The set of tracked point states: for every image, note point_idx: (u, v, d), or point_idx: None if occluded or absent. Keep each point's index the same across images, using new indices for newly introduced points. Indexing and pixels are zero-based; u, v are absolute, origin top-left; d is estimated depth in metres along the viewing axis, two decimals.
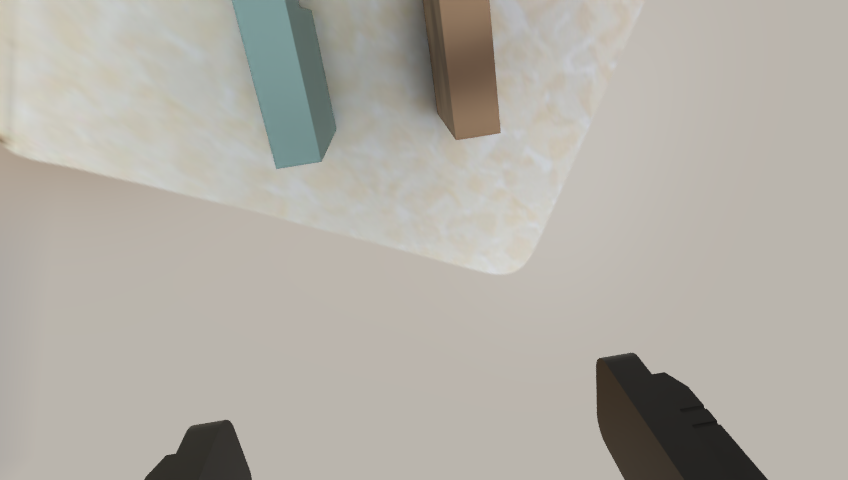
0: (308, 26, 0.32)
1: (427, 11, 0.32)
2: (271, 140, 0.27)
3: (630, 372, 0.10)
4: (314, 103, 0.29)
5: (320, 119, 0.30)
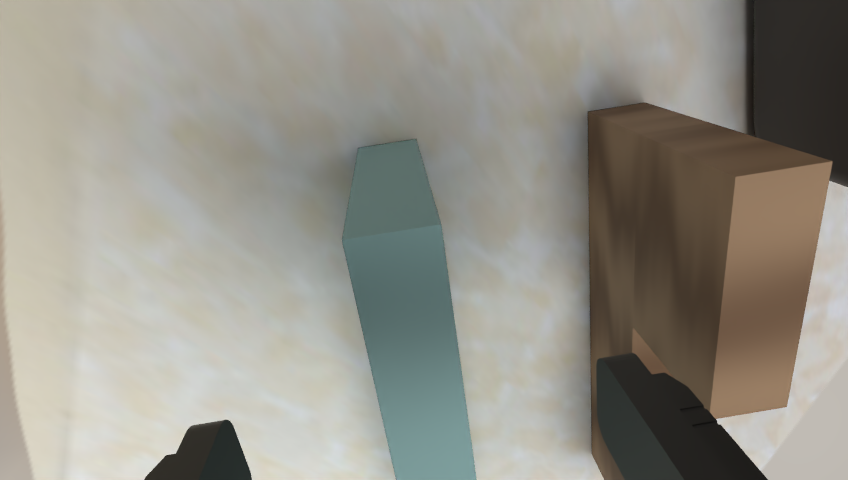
0: None
1: None
2: None
3: (630, 372, 0.10)
4: None
5: None
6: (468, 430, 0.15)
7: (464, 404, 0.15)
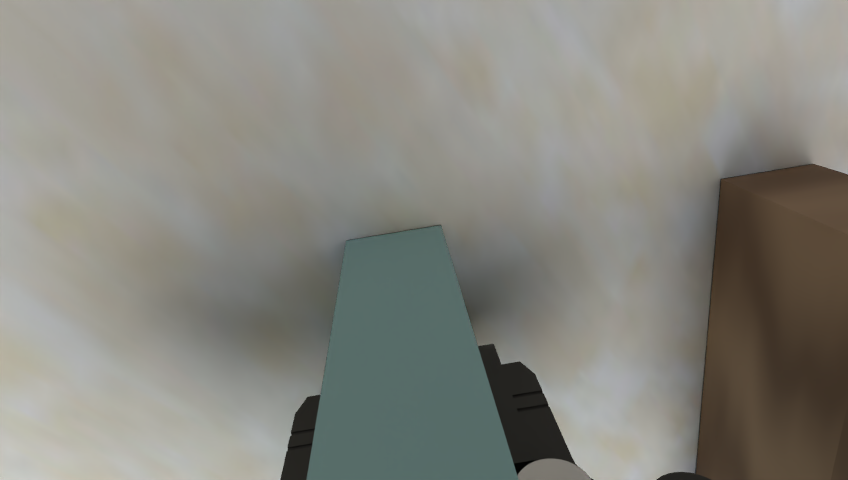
0: None
1: None
2: None
3: (483, 361, 0.11)
4: None
5: None
6: None
7: None
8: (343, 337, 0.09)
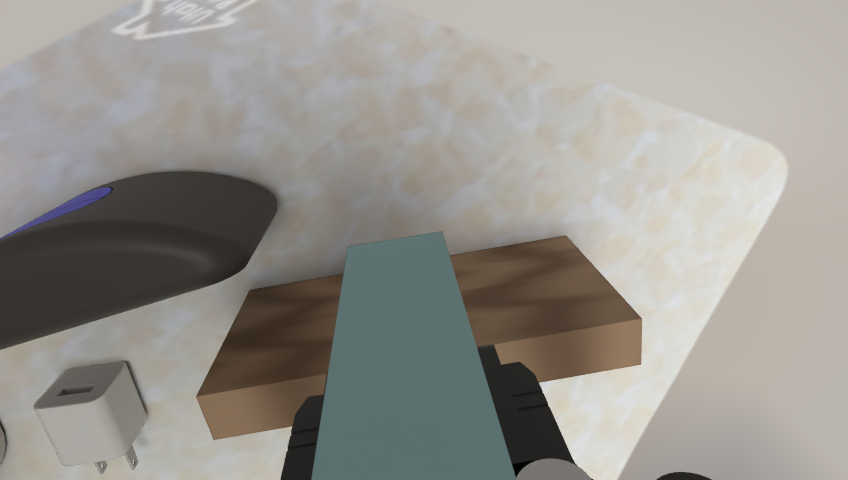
0: None
1: None
2: None
3: (483, 361, 0.11)
4: None
5: None
6: None
7: None
8: (345, 345, 0.09)
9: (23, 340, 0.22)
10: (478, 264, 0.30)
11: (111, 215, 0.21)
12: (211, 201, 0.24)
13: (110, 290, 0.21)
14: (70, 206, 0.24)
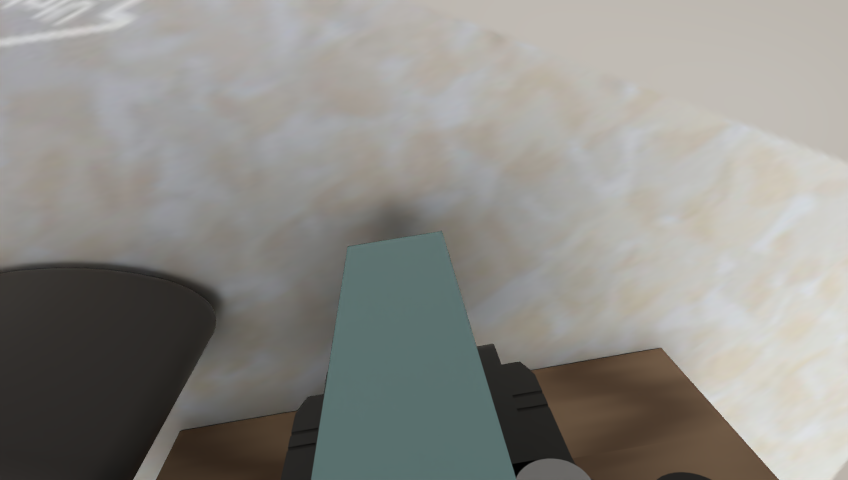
0: None
1: None
2: None
3: (482, 361, 0.11)
4: None
5: None
6: None
7: None
8: (345, 345, 0.09)
9: None
10: None
11: None
12: (77, 347, 0.13)
13: None
14: None
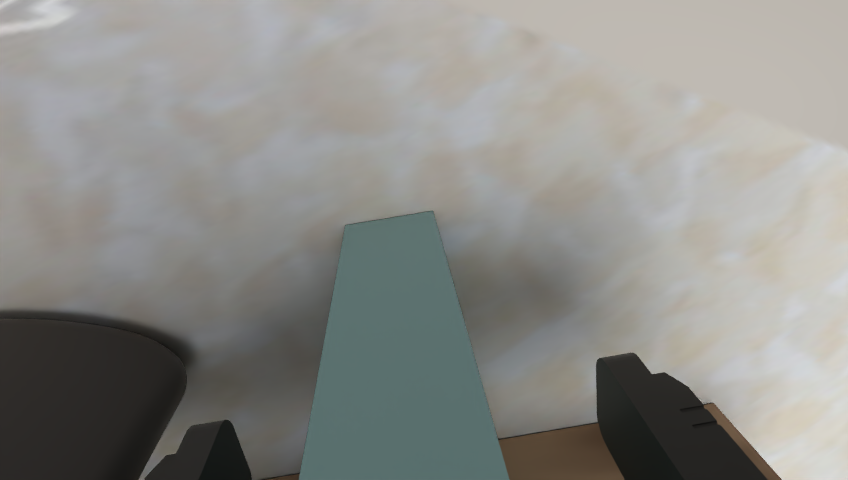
0: None
1: None
2: None
3: (630, 372, 0.10)
4: None
5: None
6: None
7: None
8: (342, 305, 0.10)
9: None
10: (565, 474, 0.16)
11: None
12: None
13: None
14: None
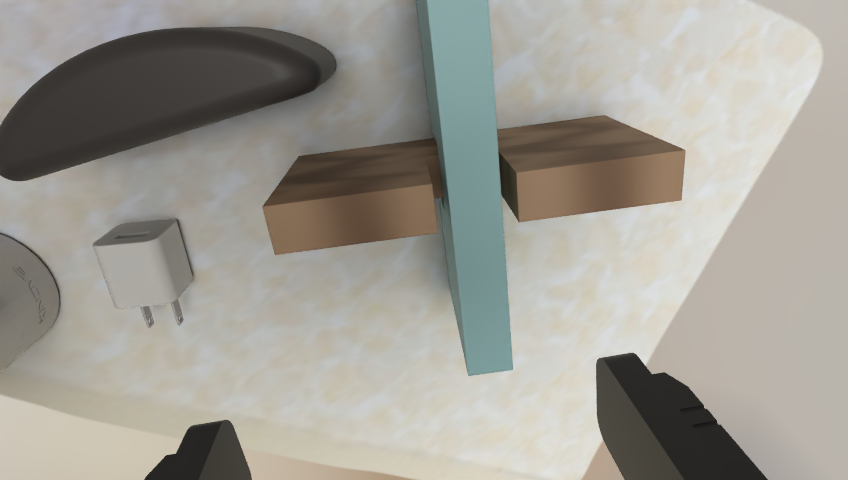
0: None
1: None
2: (468, 352, 0.28)
3: (630, 372, 0.10)
4: None
5: None
6: (496, 133, 0.23)
7: (494, 110, 0.23)
8: None
9: (113, 148, 0.23)
10: (520, 133, 0.31)
11: None
12: (282, 36, 0.26)
13: (197, 94, 0.22)
14: None
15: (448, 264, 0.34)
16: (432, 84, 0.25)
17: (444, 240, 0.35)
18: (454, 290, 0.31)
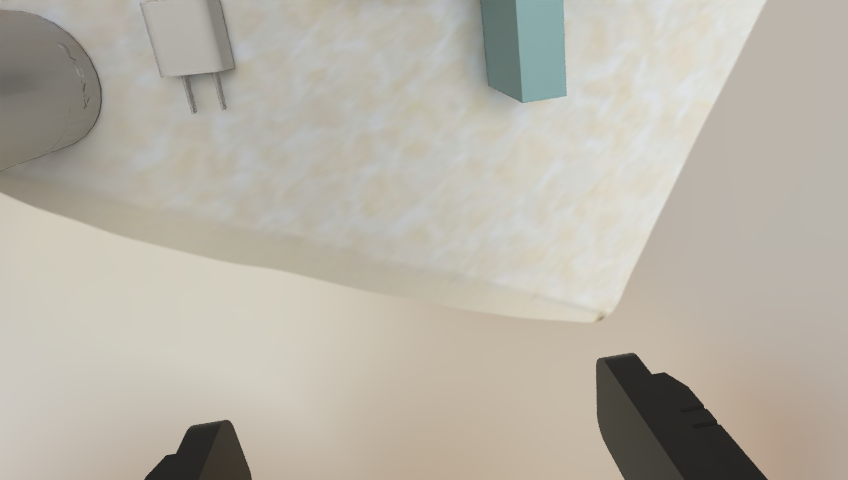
0: None
1: None
2: (523, 73, 0.28)
3: (630, 372, 0.10)
4: None
5: None
6: None
7: None
8: None
9: None
10: None
11: None
12: None
13: None
14: None
15: (489, 41, 0.35)
16: None
17: (483, 24, 0.36)
18: (501, 41, 0.31)
